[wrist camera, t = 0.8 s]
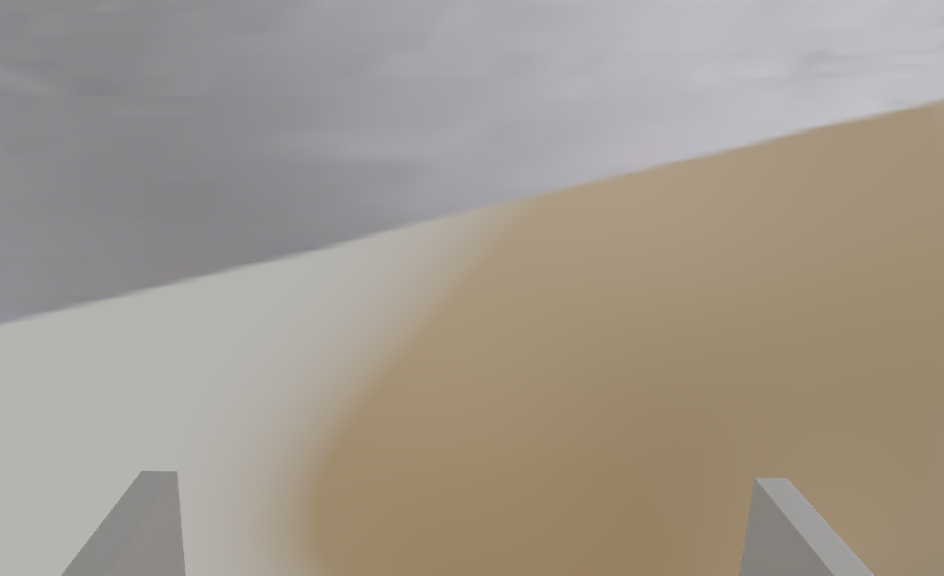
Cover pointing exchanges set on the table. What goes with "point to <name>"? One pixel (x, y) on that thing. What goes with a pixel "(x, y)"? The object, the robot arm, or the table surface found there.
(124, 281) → the table surface
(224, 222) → the table surface
